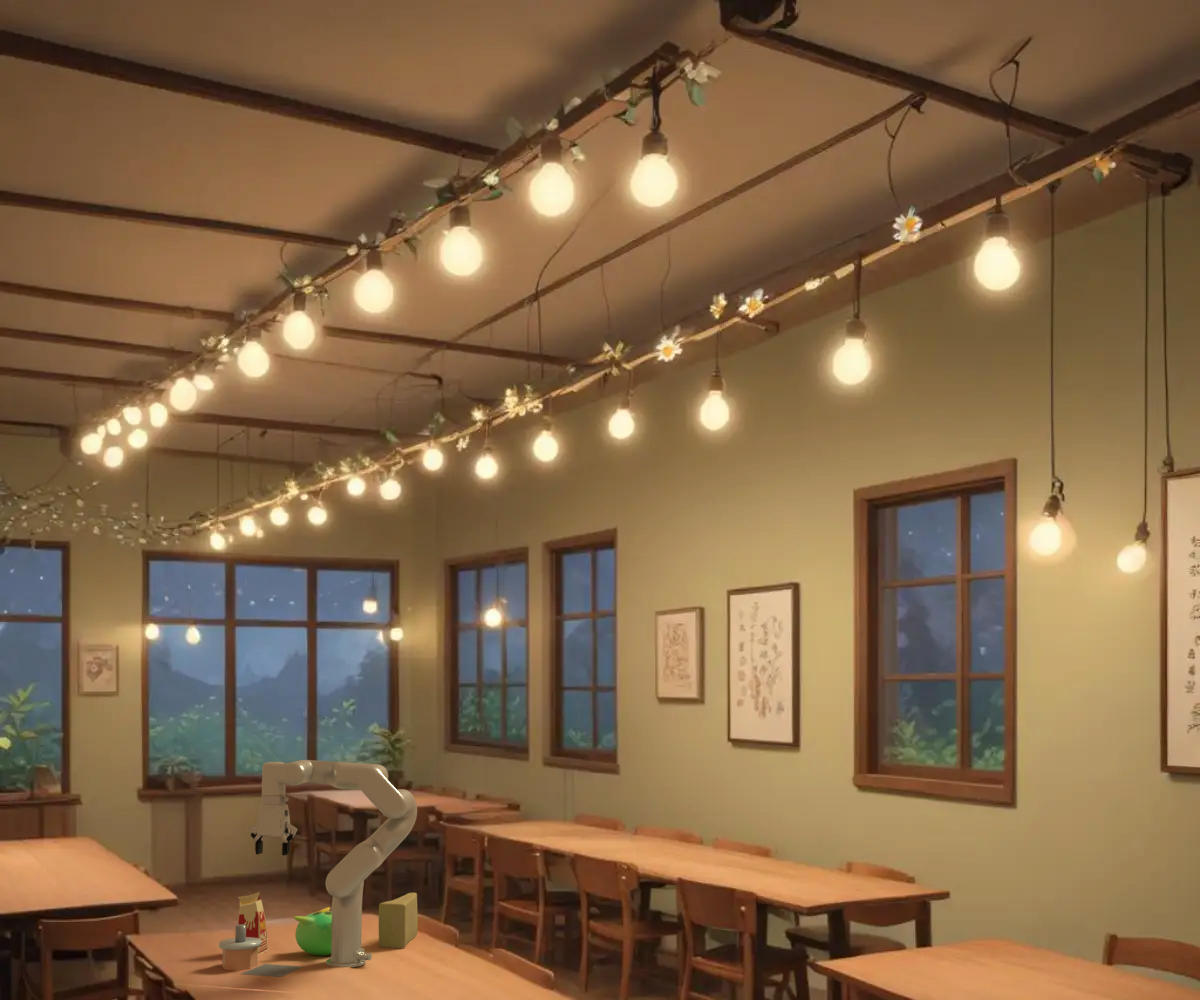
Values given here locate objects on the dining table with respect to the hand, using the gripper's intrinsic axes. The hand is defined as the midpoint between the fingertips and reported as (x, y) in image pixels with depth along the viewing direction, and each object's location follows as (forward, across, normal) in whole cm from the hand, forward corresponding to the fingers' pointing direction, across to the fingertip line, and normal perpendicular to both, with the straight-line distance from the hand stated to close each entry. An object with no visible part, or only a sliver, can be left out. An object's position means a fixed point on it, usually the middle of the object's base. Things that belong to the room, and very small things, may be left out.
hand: (272, 854), depth 426 cm
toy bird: (+34, -10, -16) cm, 39 cm away
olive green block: (+35, -27, -42) cm, 61 cm away
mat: (+34, -7, +10) cm, 36 cm away
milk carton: (+34, +14, -11) cm, 39 cm away
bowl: (+34, +6, +8) cm, 36 cm away
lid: (+27, +6, +8) cm, 29 cm away
